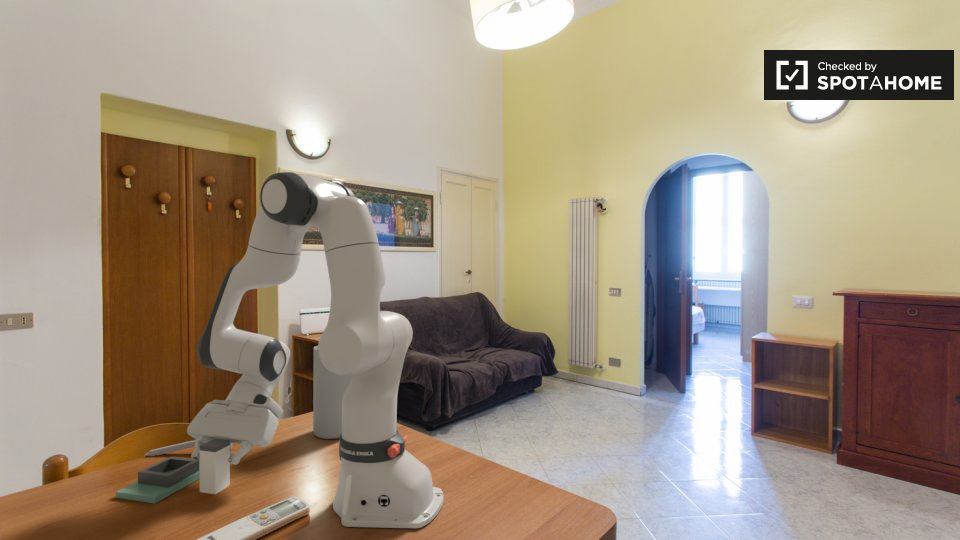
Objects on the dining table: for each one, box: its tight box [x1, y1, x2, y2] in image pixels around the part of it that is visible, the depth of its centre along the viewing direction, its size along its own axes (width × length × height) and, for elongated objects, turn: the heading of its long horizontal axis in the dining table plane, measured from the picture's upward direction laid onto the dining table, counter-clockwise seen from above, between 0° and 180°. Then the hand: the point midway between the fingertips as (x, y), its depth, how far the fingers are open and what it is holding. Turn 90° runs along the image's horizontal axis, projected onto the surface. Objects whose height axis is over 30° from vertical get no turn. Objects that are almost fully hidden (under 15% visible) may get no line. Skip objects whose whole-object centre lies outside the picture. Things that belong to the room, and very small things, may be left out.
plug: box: [199, 439, 231, 495], centre depth 97 cm, size 4×4×10 cm
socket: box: [115, 456, 200, 504], centre depth 100 cm, size 10×16×4 cm, turn 167°
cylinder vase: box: [312, 345, 353, 440], centre depth 131 cm, size 12×12×25 cm
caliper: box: [143, 439, 233, 457], centre depth 116 cm, size 20×1×6 cm, turn 101°
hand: (213, 460), depth 97 cm, fingers open, 8 cm apart
